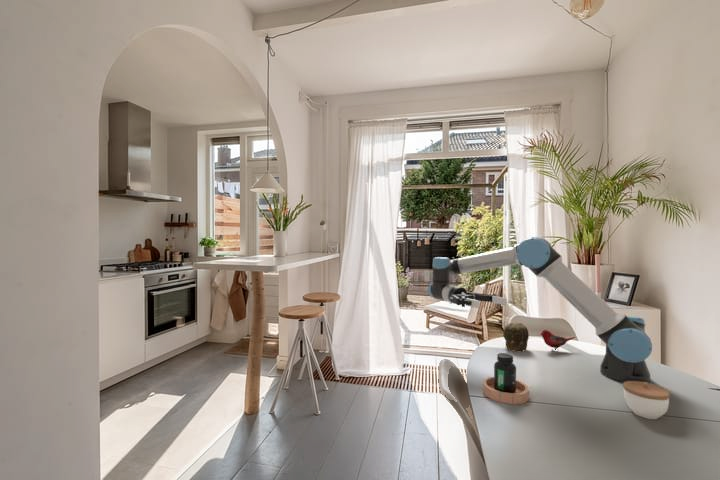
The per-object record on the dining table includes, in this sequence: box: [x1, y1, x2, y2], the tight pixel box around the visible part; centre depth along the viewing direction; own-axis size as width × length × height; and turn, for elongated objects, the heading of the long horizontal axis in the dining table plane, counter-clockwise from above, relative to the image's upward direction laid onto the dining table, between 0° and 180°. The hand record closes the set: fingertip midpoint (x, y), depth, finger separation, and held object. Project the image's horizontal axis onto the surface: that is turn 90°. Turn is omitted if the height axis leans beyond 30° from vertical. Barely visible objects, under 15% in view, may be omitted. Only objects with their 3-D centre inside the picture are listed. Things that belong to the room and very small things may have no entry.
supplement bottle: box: [493, 352, 517, 393], centre depth 115 cm, size 7×7×12 cm
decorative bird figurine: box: [540, 329, 576, 350], centre depth 160 cm, size 3×18×10 cm, turn 96°
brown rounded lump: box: [502, 322, 530, 352], centre depth 163 cm, size 11×11×12 cm
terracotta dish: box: [482, 376, 530, 405], centre depth 115 cm, size 14×14×3 cm
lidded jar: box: [622, 381, 671, 420], centre depth 102 cm, size 11×11×9 cm
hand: (492, 303), depth 128 cm, fingers open, 13 cm apart
